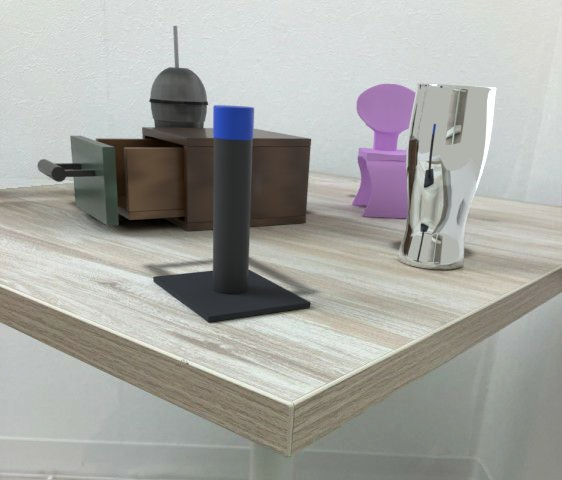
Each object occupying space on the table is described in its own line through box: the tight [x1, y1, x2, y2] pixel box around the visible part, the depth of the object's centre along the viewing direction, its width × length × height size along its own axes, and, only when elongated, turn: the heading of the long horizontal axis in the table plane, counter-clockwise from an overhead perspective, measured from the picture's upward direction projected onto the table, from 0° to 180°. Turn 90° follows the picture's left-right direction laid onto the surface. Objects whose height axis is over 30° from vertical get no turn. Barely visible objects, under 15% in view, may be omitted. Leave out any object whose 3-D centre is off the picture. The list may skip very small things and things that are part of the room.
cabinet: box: [141, 126, 312, 232], centre depth 73 cm, size 15×13×9 cm
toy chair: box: [351, 83, 416, 219], centre depth 80 cm, size 8×9×15 cm
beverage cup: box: [148, 25, 209, 128], centre depth 81 cm, size 7×7×20 cm
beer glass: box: [397, 82, 497, 271], centre depth 57 cm, size 7×7×15 cm
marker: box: [212, 104, 255, 294], centre depth 45 cm, size 3×3×12 cm
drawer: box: [36, 135, 185, 227], centre depth 68 cm, size 18×11×7 cm, turn 121°
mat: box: [152, 269, 312, 323], centre depth 48 cm, size 10×8×1 cm
